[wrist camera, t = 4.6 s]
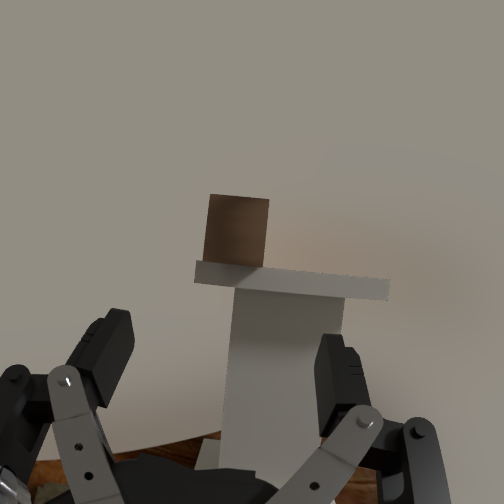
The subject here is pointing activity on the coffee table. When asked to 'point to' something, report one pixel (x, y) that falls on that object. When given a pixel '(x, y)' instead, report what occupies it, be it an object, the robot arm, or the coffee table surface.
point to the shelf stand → (275, 363)
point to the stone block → (49, 492)
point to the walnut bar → (236, 230)
